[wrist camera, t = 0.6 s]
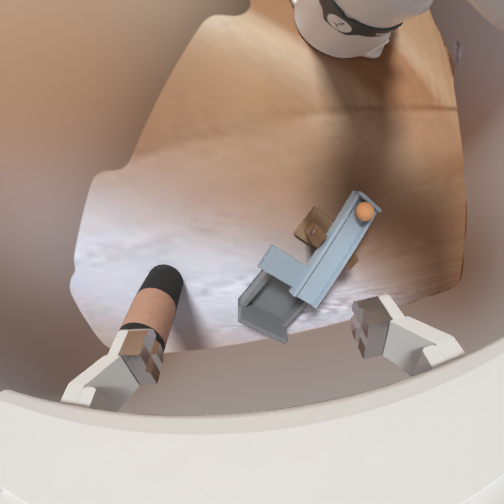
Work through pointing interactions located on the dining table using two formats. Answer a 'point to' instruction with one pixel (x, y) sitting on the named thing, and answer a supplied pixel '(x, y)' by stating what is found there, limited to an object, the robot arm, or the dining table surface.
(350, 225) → the lever
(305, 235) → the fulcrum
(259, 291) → the tray
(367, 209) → the ball
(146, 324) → the travel mug
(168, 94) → the dining table surface
